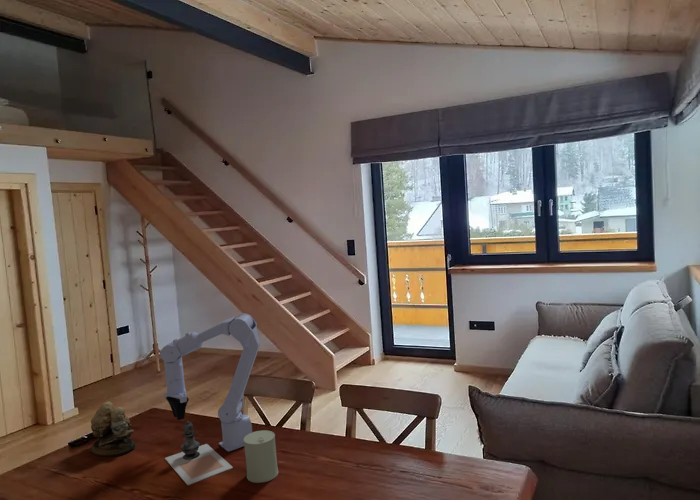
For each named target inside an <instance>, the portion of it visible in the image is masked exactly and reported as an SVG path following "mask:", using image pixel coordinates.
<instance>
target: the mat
mask: <svg viewBox="0 0 700 500" xmlns="http://www.w3.org/2000/svg"><path fill="white" fill-rule="evenodd" d="M197 452H199V453H200V455H199V456H198V457H197V458H195V459H191V460H185V459H183V456H184V455H185V453H183V451H181V452H178V453H174V454H173V455H169V456H167V457H165V458H164V460H165V461H166V462H167V463H168V464H169V465H170V466H171V468H172V469H173V470H174V471H175V472H176V473H177V475H178V476H179V478H180V479H182V480H183V482H184V483H185V484H186V485H187V486H191V485H192V484H195V483H198V482H201V481H203V480H205V479H208V478H212V477H213V476H214V477H215V476H217V475H219V474H222V473H225V472H227V471H230V470H232V469H233V468H234V467H233V466H232V465H231V464H230V463H229V462H228V461H227V460H226V459H224V458H223V457H222V456H221V455H220V454H219V453H217V451H215V449H213V448H212V447H211V446H210V445H209V444H208V443H205V444H201V445H199V448H198V450H197Z"/></svg>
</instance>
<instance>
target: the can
mask: <svg viewBox="0 0 700 500" xmlns="http://www.w3.org/2000/svg"><path fill="white" fill-rule="evenodd" d="M243 447H244V455H245V456H244V457H245V466H246V479H247V480H248V481H249V482H251V483H255V484H260V483H267V482H269V481H272V480H273V479H276V477H277V476H278V475H279V469H278V461H277V460H278V459H277V447H276V433H275V432H274V431H271V430H267V429H266V430H265V429H264V430H256V431H252V433H250V434H248V435H246V436H245V437H244V446H243Z"/></svg>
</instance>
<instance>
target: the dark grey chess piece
mask: <svg viewBox="0 0 700 500" xmlns="http://www.w3.org/2000/svg"><path fill="white" fill-rule="evenodd" d="M183 432H184V433H183V437H184V443H182V444H181V445H180V449H181V450H182V451H181V452H183V453H185V455H184V456H183V459H185V460H191V459H195V458H197V457H198V456H199V455H200V453H199V452H197V450H198V448H199V446H201V445H200V444H201V443H200V442H199V441H198V440H196V438H195V434H196V433H195V431H194V424H193V422H191V421H189V420H188V419H187V420H186V422H185V423H184V425H183Z"/></svg>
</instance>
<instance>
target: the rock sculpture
mask: <svg viewBox="0 0 700 500" xmlns="http://www.w3.org/2000/svg"><path fill="white" fill-rule="evenodd" d="M90 423H91V424H90V425H91V426H90V429H91V431H92V434H93V436H94V437H95V438H97V440H96V441H94V442H93V443H92V445H91V446H90V447H89V450H90V453H91V455H94V456H96V457H101V458H114V457H120V456H122V455H127V453H129V452H131V451H132V450H134V449H136V442H135V440H132V439H131V438H130V437H131V436H132V434H133V433H135V430H134V429H131V427H132V424H131V420H130V418H129V417H128V416H127V415H126V409H125V408H124V407H122V406H119V407H116V408H114V403H112V401H105V402H104V403H102V404H101V405H100V407H98V409H97V410H96V412H95V414H94V416H93V417H92V418H91V419H90Z"/></svg>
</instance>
